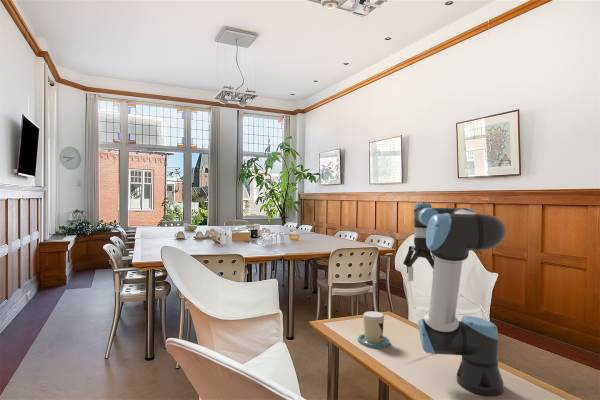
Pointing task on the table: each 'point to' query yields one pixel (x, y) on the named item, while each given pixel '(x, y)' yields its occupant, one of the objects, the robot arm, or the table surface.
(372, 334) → the coffee cup
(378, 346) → the saucer
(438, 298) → the robot arm
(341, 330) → the table surface
